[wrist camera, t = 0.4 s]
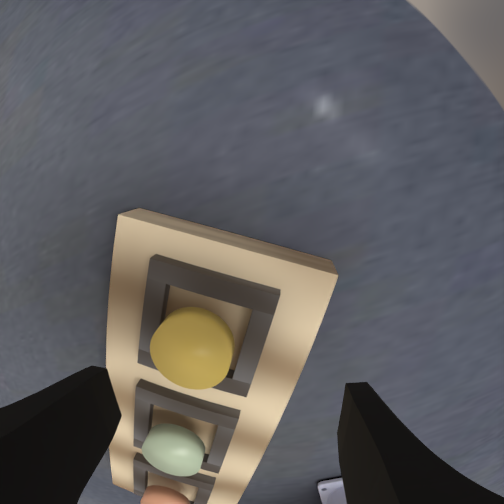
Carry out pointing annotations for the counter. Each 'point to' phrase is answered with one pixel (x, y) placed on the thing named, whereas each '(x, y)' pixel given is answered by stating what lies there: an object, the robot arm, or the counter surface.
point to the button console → (245, 338)
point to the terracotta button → (163, 496)
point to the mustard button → (193, 348)
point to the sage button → (174, 450)
